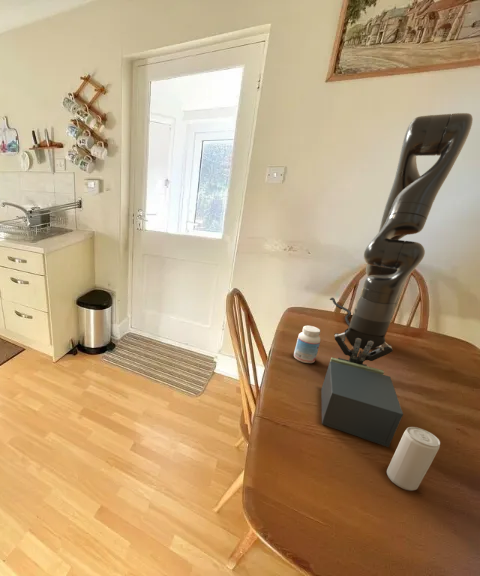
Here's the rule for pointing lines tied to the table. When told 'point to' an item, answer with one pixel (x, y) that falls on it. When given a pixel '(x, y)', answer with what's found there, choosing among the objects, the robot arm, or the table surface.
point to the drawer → (357, 365)
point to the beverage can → (413, 458)
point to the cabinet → (360, 403)
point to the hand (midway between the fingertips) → (352, 369)
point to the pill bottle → (307, 344)
